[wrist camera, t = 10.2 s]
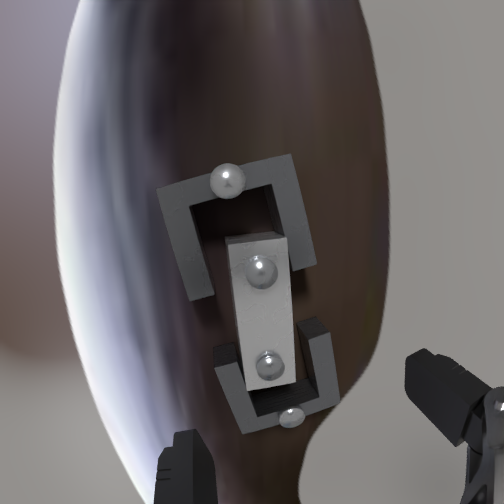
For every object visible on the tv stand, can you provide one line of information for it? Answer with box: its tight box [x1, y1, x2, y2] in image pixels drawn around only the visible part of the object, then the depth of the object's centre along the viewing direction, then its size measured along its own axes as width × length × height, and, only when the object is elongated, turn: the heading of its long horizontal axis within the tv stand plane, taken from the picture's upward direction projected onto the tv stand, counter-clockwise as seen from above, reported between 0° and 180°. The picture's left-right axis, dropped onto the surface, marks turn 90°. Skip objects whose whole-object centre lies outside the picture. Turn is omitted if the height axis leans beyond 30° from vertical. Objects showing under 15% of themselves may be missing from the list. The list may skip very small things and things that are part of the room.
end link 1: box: [156, 154, 317, 301], centre depth 18 cm, size 7×8×4 cm
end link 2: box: [213, 316, 340, 434], centre depth 21 cm, size 7×8×4 cm
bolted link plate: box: [225, 231, 296, 391], centre depth 19 cm, size 10×3×4 cm, turn 6°
